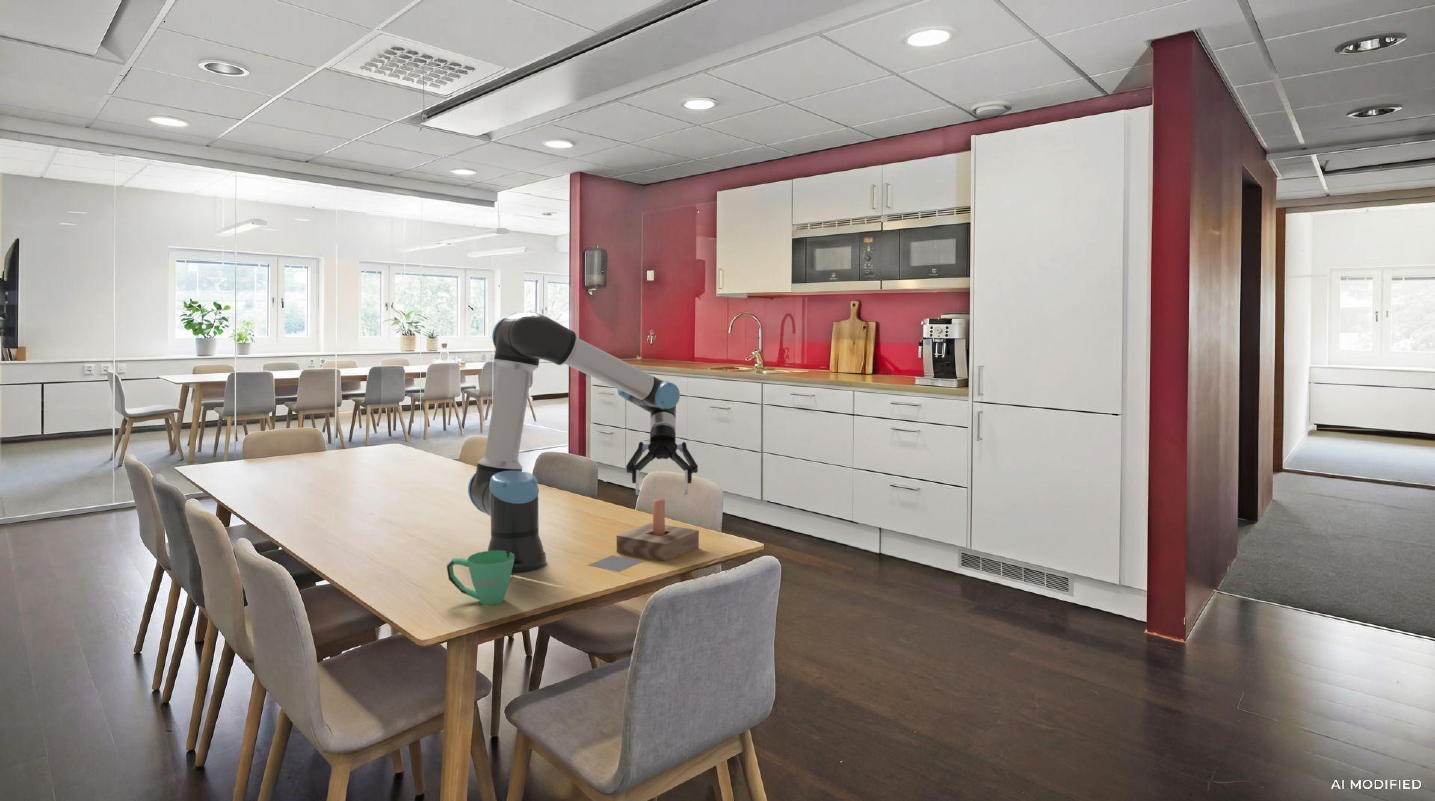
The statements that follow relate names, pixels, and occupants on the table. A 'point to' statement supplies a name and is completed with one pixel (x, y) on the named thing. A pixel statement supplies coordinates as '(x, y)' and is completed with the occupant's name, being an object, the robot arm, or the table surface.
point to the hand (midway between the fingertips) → (661, 492)
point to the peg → (658, 517)
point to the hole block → (658, 542)
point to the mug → (485, 575)
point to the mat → (615, 563)
